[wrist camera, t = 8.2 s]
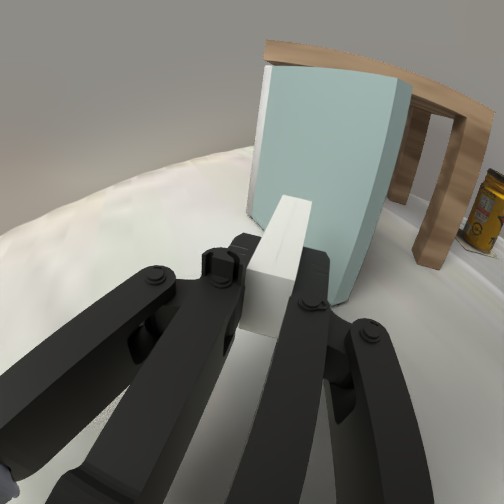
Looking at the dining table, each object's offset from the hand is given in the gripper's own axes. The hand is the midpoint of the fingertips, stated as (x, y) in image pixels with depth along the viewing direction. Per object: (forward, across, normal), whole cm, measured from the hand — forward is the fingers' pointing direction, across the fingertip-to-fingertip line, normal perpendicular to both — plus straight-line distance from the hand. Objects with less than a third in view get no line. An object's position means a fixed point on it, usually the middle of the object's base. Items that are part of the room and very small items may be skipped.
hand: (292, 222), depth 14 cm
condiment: (+24, +28, -7) cm, 38 cm away
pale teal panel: (+8, 0, -6) cm, 10 cm away
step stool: (+23, +6, -7) cm, 25 cm away
